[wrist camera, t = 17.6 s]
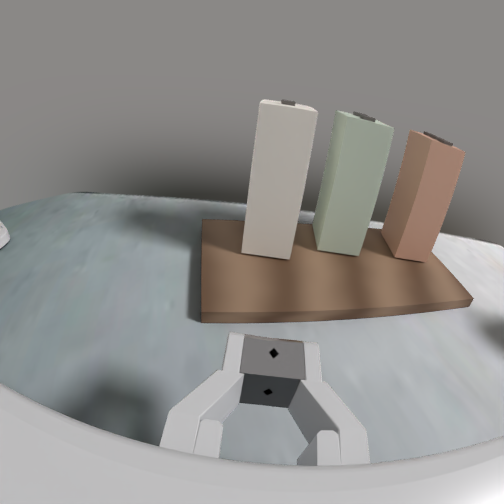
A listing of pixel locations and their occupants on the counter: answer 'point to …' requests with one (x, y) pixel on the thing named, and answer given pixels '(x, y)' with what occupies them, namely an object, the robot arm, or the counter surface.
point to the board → (316, 280)
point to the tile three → (421, 195)
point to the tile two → (350, 182)
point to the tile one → (278, 177)
